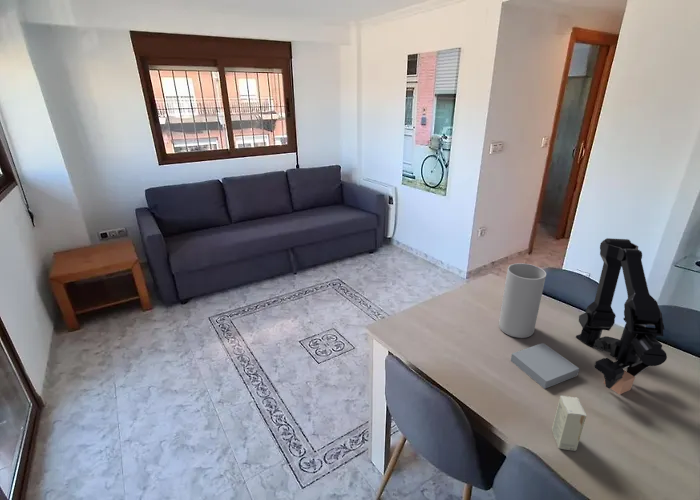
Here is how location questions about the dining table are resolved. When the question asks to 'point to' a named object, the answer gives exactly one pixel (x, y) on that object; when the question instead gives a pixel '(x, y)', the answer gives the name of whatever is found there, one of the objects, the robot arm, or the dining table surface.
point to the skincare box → (568, 423)
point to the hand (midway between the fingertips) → (617, 383)
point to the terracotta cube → (623, 383)
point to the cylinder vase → (521, 299)
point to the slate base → (544, 365)
